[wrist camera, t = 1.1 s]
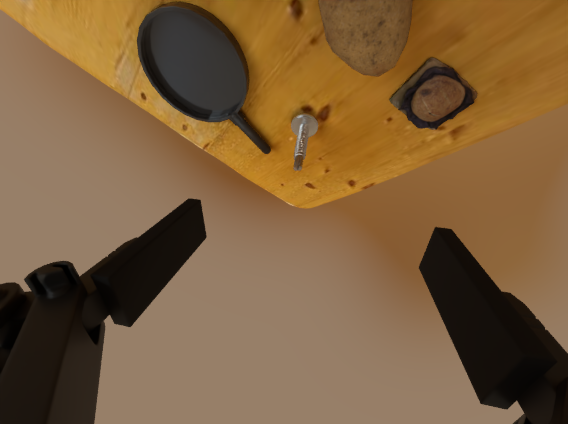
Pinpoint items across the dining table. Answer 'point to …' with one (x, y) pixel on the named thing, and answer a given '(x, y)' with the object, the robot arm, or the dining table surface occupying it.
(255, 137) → the pan handle
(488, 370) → the robot arm
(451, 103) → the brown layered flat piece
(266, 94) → the dining table surface
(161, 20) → the pan
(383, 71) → the potato
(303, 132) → the screw
